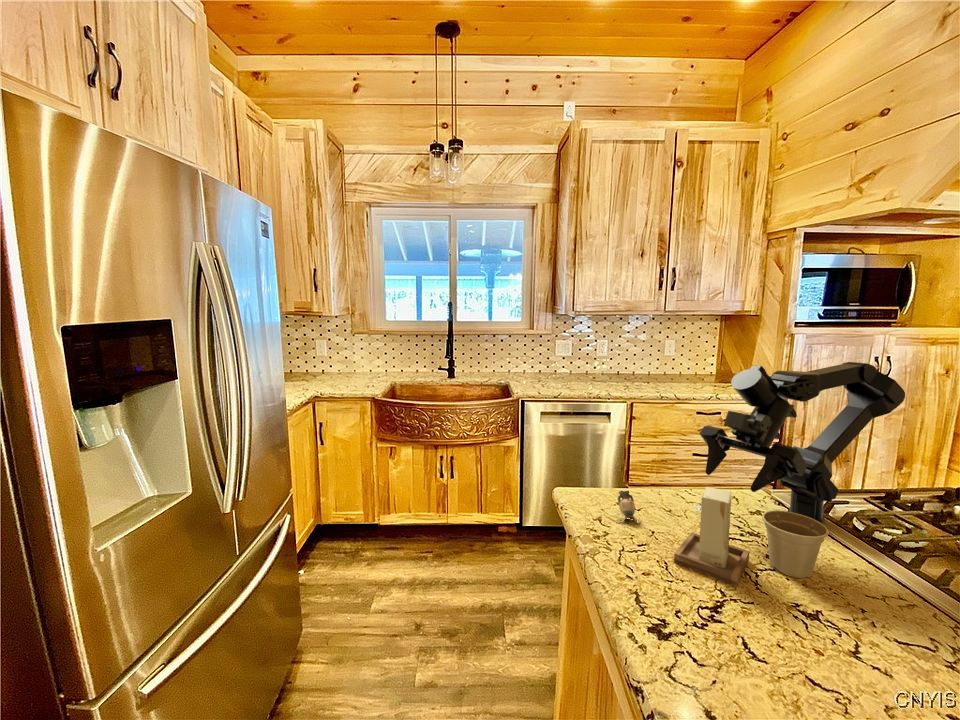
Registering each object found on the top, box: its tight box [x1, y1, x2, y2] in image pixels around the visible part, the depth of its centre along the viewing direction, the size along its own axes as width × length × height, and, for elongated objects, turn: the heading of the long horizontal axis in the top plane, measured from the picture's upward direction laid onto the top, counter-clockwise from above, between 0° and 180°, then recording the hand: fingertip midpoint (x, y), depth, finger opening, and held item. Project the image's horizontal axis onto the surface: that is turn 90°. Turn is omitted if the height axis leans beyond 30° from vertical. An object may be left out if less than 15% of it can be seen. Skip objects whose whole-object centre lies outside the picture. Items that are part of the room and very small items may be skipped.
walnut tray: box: [673, 532, 750, 588], centre depth 76 cm, size 10×10×2 cm
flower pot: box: [761, 509, 830, 579], centre depth 73 cm, size 9×9×9 cm
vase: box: [616, 490, 641, 524], centre depth 92 cm, size 5×5×6 cm
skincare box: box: [699, 486, 732, 568], centre depth 75 cm, size 6×4×12 cm
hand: (728, 481), depth 82 cm, fingers open, 9 cm apart
